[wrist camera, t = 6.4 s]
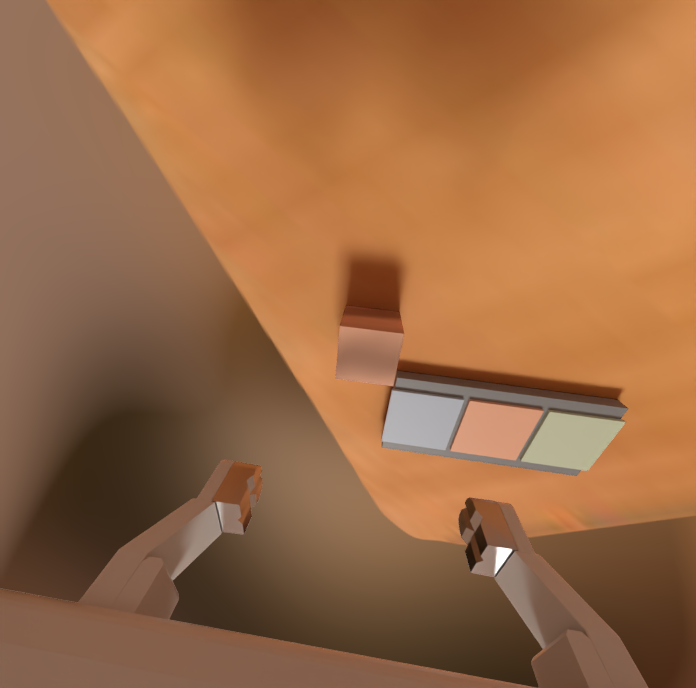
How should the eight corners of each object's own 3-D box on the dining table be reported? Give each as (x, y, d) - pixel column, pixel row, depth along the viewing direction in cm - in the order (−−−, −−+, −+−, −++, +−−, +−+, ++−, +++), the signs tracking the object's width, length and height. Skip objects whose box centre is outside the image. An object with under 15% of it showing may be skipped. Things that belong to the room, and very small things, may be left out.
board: (393, 369, 25) (394, 379, 23) (620, 400, 24) (634, 411, 22) (379, 438, 29) (379, 449, 27) (571, 466, 28) (581, 479, 27)
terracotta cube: (346, 305, 22) (339, 325, 18) (399, 311, 22) (404, 333, 18) (342, 350, 24) (335, 378, 20) (390, 357, 24) (393, 386, 20)
